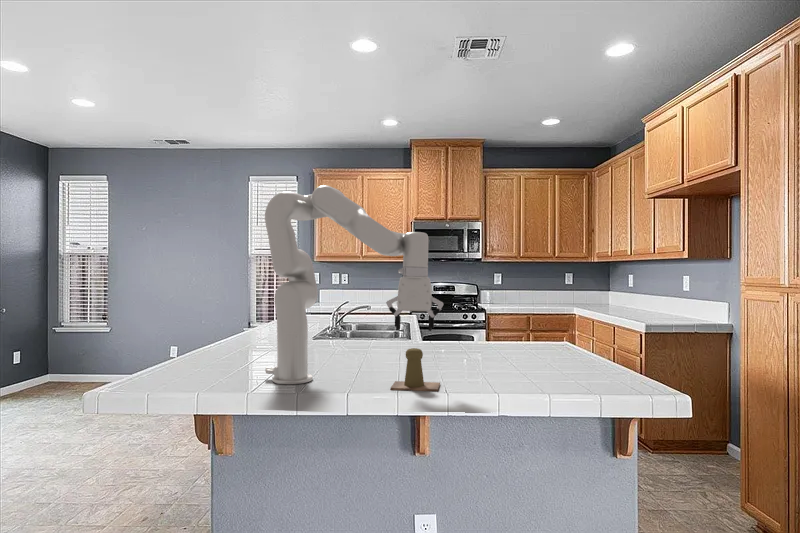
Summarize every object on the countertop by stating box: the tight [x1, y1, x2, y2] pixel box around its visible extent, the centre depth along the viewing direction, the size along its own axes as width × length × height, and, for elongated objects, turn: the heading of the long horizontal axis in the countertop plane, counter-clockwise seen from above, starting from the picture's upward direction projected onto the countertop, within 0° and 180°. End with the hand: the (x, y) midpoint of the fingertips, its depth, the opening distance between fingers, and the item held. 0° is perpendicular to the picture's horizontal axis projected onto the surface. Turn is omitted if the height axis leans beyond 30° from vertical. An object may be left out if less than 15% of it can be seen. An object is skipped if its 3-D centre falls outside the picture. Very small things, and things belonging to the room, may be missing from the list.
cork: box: [404, 347, 425, 387], centre depth 160 cm, size 6×6×11 cm
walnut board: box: [390, 380, 441, 392], centre depth 159 cm, size 14×9×1 cm, turn 82°
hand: (414, 329), depth 160 cm, fingers open, 9 cm apart
